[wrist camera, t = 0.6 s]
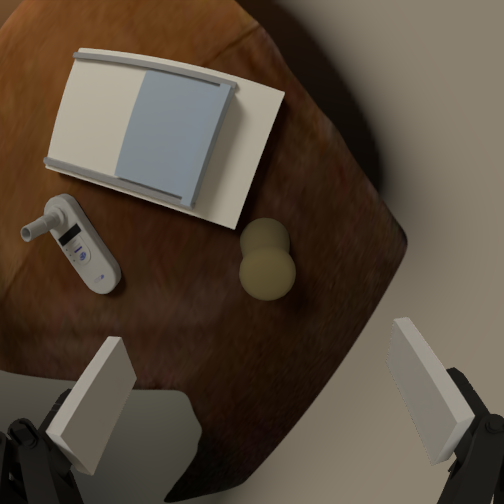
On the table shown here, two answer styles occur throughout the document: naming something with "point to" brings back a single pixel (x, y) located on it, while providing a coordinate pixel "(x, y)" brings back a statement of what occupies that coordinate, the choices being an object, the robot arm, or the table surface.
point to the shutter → (173, 133)
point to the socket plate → (118, 115)
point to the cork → (266, 260)
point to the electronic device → (77, 242)
